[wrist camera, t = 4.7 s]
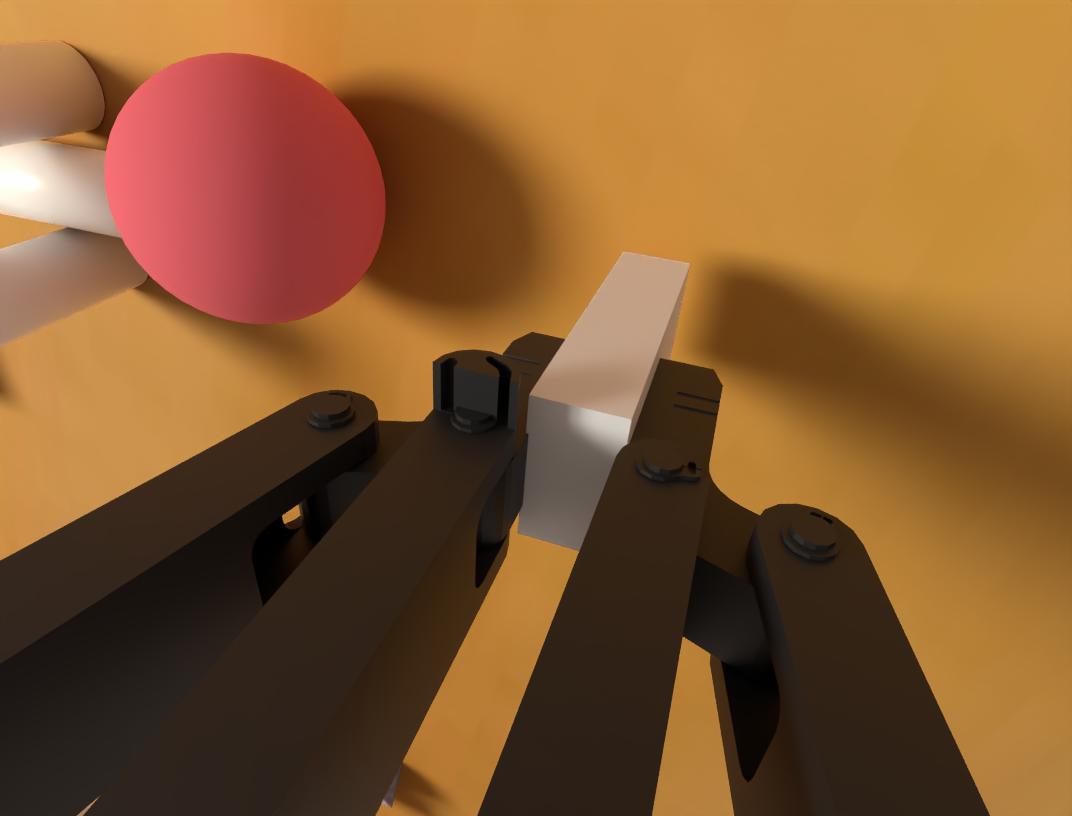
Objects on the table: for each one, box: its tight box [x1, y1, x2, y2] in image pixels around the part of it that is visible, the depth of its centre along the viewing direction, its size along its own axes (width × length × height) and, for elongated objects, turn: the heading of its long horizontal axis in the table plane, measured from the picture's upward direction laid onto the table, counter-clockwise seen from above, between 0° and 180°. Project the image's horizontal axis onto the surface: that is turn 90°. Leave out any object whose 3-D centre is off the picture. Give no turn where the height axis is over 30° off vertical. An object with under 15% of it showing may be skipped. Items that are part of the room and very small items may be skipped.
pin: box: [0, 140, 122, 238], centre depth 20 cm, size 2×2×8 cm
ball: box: [104, 53, 386, 324], centre depth 15 cm, size 6×6×6 cm
